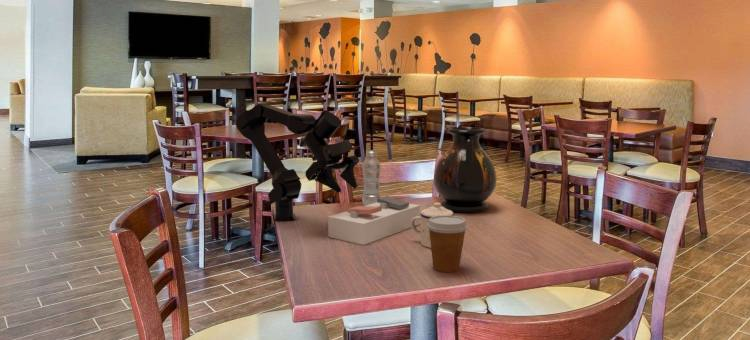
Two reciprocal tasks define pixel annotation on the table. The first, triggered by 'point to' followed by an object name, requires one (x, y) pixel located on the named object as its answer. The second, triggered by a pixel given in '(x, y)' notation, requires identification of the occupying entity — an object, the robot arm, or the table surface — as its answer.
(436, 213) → the teacup with lid
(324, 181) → the robot arm
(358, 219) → the block
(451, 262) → the disposable coffee cup
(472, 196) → the amphora vase
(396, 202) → the charcoal rocker
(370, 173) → the plastic bottle
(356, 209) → the red rocker
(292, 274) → the table surface
